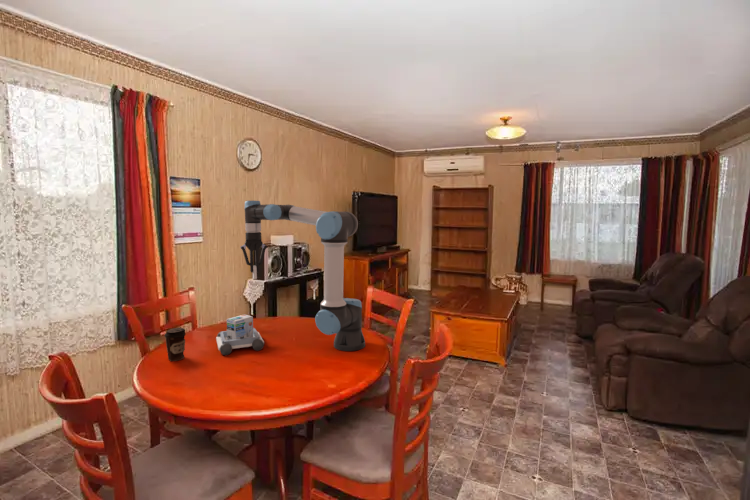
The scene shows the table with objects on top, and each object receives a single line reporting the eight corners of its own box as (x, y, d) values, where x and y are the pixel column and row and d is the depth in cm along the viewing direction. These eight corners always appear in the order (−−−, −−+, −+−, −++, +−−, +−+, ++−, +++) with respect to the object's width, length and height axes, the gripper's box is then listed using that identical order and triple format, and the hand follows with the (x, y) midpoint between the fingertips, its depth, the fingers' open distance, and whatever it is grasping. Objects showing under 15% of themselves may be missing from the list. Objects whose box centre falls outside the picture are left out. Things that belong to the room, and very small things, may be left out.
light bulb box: (235, 343, 181) (235, 321, 180) (226, 341, 185) (225, 318, 184) (254, 337, 190) (253, 315, 189) (244, 335, 194) (244, 313, 193)
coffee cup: (191, 357, 173) (190, 328, 171) (175, 363, 165) (173, 334, 164) (178, 354, 176) (176, 326, 175) (161, 360, 169) (159, 331, 167)
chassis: (264, 349, 182) (264, 338, 182) (219, 356, 174) (218, 344, 173) (257, 336, 201) (257, 325, 201) (216, 341, 193) (215, 330, 192)
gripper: (265, 231, 200) (266, 276, 202) (238, 231, 194) (240, 278, 196) (268, 231, 193) (269, 278, 195) (240, 232, 187) (242, 280, 190)
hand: (254, 278), depth 196 cm, fingers closed
